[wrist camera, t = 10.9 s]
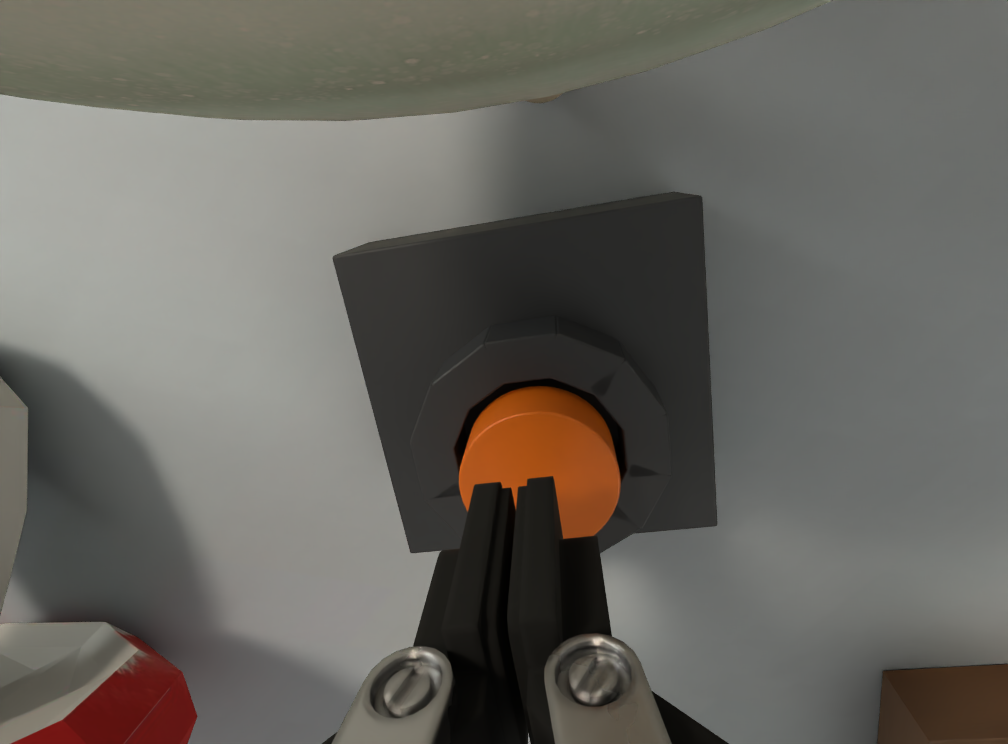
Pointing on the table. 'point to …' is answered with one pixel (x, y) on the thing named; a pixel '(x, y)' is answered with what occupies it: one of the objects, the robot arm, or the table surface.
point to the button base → (542, 351)
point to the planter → (350, 51)
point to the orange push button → (546, 454)
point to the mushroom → (74, 649)
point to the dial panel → (945, 706)
